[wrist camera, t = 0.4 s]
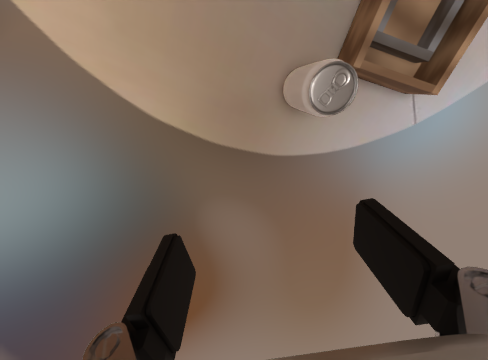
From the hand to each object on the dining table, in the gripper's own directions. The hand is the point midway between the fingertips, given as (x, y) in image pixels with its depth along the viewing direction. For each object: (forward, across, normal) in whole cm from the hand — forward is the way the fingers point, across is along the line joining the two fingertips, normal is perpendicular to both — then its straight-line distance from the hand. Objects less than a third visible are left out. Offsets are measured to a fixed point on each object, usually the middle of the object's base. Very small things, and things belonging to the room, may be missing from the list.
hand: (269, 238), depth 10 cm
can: (+28, -11, -5) cm, 30 cm away
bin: (+28, -26, -12) cm, 40 cm away
